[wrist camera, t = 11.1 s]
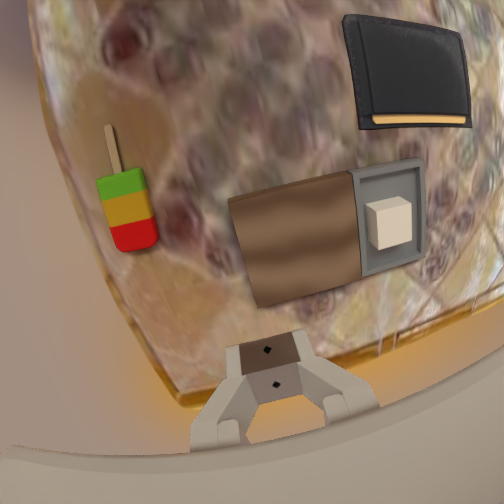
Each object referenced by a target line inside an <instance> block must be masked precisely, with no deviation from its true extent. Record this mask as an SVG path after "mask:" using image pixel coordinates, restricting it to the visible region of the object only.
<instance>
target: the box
mask: <svg viewBox="0 0 504 504" xmlns="http://www.w3.org/2000/svg"><path fill="white" fill-rule="evenodd" d="M347 172H348V173H350V174H351V175H352V183H353V190H354V198H355V207H356V216H357V226H358V237H359V249H360V263H361V276H362V277H365V276H368V275H371V274H374V273H377V272H381V271H384V270H387V269H390V268H393V267H396V266H399V265H402V264H405V263H408V262H411V261H414V260H417V259H420V258H423V257H425V251H426V187H425V169H424V159H421V158H418V157H415V158H410V159H404V160H398V161H393V162H387V163H382V164H377V165H372V166H367V167H362V168H357V169H352V170H347ZM397 196H399V197H401V198H403V199H405V200H407V201H408V202H410V203H411V211H412V240H411V241H408V242H404V243H401V244H398V245H394V246H391V247H388V248H384V249H381V250H378V249H377V248H376V247H375V246H374V245H373V244H372V243H371V242H369V241H368V229H367V217H366V206H365V204H368V203H372V202H376V201H380V200H385V199H389V198H393V197H397Z"/></svg>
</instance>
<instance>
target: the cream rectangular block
mask: <svg viewBox="0 0 504 504" xmlns="http://www.w3.org/2000/svg"><path fill="white" fill-rule="evenodd" d="M365 206H366V217H367V229H368V241H369V242H371V243H372V244H373V245H374V246H375V247H376V248H377V249H378V250H381V249H384V248H388V247H391V246H394V245H398V244H401V243H404V242H408V241H411V240H412V211H411V203H410V202H408V201H407V200H405V199H403V198H401V197H399V196H397V197H393V198H389V199H385V200H380V201H376V202H372V203H368V204H365Z"/></svg>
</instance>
